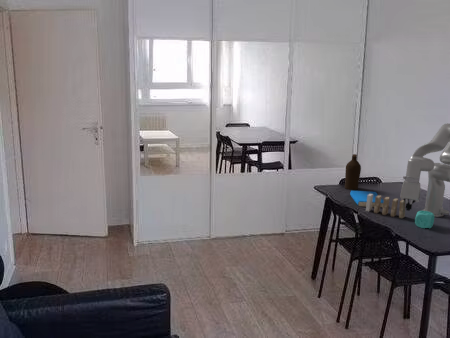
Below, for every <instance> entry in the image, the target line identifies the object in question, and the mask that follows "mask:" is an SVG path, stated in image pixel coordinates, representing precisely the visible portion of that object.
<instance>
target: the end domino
mask: <svg viewBox="0 0 450 338" xmlns="http://www.w3.org/2000/svg"><path fill="white" fill-rule="evenodd" d="M372 200H373V194H369V195H367V203H366V207H365V212H368V213H369V212H371V211H372V209H373V207H372Z"/></svg>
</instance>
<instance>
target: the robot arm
mask: <svg viewBox="0 0 450 338" xmlns="http://www.w3.org/2000/svg"><path fill="white" fill-rule="evenodd" d="M437 152H441V154H440V156H439V161H440V162H441V163H440V162H434V161H433V159H431V158H428V157H424V156H426V155H428V154H432V153H433V154H434V153H437ZM422 172H427V174H428V182H427V183H428V184H427V188H426V189H427V190H426V197H425V202H424V203H425V205H424V208H423V209H421V211H429V212H432V213H433V214H434V218H435V217H436V218H441V217H444V216H445V215H447V216H448V215H450V211H449V210H446V209H445V208H444V207H443V205H444V204H443V203H444V197H445V190H446V184H445V182H448V183H450V123H447V122H446V123H444V124H442V125H441V126H440V128H439V129H438V130H437V132H436V133H435V135H434V136H433V137H432V138H431V140H430V141H429V142H427V143H424V144H423V145H421V146H419V147H418V148H417V149H416V150H415V151H413V153H412V154H411V156H410V157H409V159H408V160H407V165H406V174H405V176H404V175H403V177H402V179H404V180H403V183H402V186H401V190H400V197H399V199H401V200H404V201H405V211H408V212H410V211H411V210H412V207H413V204H414V203H420V202H421V201H420V197H421V183H420V179H421V173H422ZM409 200H410V201H409Z"/></svg>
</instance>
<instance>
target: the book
mask: <svg viewBox="0 0 450 338" xmlns="http://www.w3.org/2000/svg"><path fill="white" fill-rule="evenodd" d="M349 194H350V197H351V198H352V200H353V201H354V203H356V204H357V206H358V207H364V208H366V203H367V195H369V194H373V200H372V208H374V206H375V198H376V196H378V195H379V193H377V191H366V190H350V192H349ZM383 202H384V198H382V197H381V204H380V208H383Z"/></svg>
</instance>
